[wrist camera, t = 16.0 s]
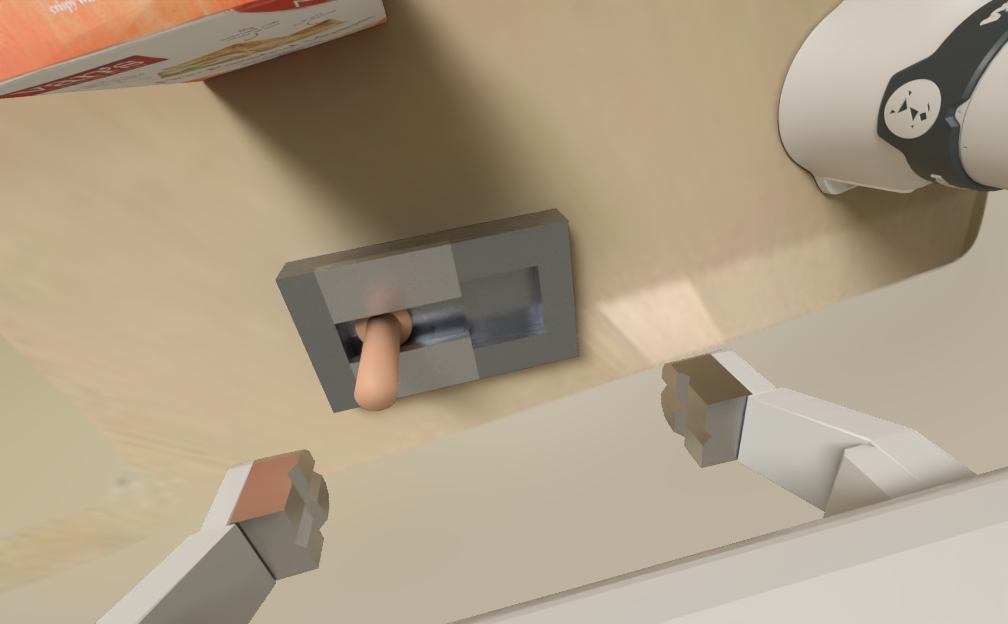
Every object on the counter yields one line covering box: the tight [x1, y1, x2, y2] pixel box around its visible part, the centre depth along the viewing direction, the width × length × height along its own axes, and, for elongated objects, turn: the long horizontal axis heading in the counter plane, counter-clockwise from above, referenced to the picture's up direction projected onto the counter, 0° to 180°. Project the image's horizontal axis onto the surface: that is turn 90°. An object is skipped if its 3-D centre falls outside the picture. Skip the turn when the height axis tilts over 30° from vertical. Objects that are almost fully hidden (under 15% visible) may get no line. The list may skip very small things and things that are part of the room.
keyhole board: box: [276, 209, 579, 413], centre depth 42 cm, size 24×14×4 cm, turn 98°
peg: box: [354, 308, 412, 411], centre depth 37 cm, size 5×5×11 cm
